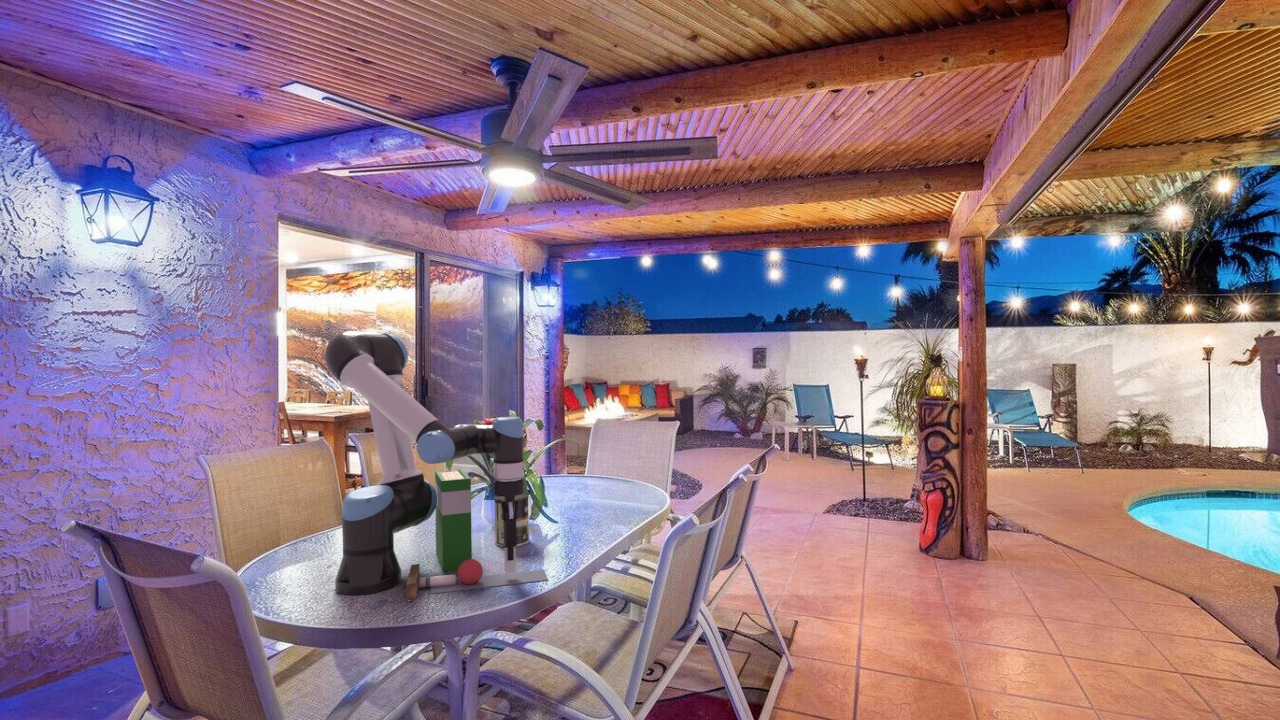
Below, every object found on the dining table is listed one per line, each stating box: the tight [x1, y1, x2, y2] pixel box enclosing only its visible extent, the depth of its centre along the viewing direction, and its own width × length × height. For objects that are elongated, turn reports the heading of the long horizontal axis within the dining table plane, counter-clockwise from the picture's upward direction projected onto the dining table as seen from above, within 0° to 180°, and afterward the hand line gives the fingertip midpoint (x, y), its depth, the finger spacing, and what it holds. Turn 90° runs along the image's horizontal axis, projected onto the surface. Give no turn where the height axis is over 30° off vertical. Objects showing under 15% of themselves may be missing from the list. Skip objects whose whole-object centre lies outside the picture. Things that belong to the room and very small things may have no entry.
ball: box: [457, 558, 484, 585], centre depth 151 cm, size 6×6×6 cm
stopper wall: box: [406, 563, 421, 602], centre depth 148 cm, size 2×14×4 cm, turn 16°
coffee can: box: [493, 492, 530, 548], centre depth 186 cm, size 10×10×14 cm
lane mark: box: [430, 569, 549, 595], centre depth 153 cm, size 28×8×1 cm, turn 106°
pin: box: [418, 574, 457, 589], centre depth 150 cm, size 2×2×8 cm
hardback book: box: [434, 468, 473, 573], centre depth 170 cm, size 18×7×24 cm, turn 24°
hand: (510, 571), depth 154 cm, fingers closed
